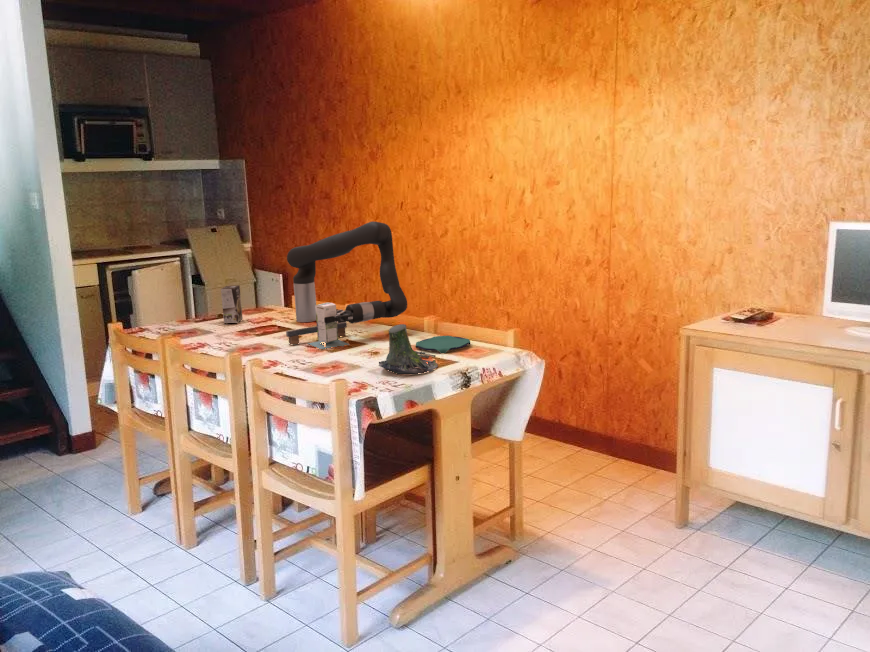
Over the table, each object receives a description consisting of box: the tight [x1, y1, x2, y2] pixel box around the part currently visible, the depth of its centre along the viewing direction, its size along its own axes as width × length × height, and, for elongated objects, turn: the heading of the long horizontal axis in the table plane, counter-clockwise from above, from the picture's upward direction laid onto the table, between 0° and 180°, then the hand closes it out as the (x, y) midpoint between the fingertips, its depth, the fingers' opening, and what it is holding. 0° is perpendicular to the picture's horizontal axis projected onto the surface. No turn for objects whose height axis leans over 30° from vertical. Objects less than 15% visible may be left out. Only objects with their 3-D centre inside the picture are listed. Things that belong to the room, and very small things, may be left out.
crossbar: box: [285, 322, 348, 338], centre depth 299 cm, size 2×25×2 cm, turn 122°
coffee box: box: [220, 285, 244, 324], centre depth 339 cm, size 9×6×16 cm
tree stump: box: [378, 323, 439, 375], centre depth 251 cm, size 18×20×18 cm
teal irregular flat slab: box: [414, 335, 471, 359], centre depth 278 cm, size 20×30×2 cm, turn 135°
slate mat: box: [307, 339, 350, 350], centre depth 291 cm, size 12×12×1 cm
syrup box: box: [315, 302, 339, 343], centre depth 290 cm, size 6×6×14 cm
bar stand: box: [288, 328, 347, 345], centre depth 299 cm, size 3×23×4 cm, turn 123°
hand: (321, 318), depth 288 cm, fingers closed on syrup box, 6 cm apart
